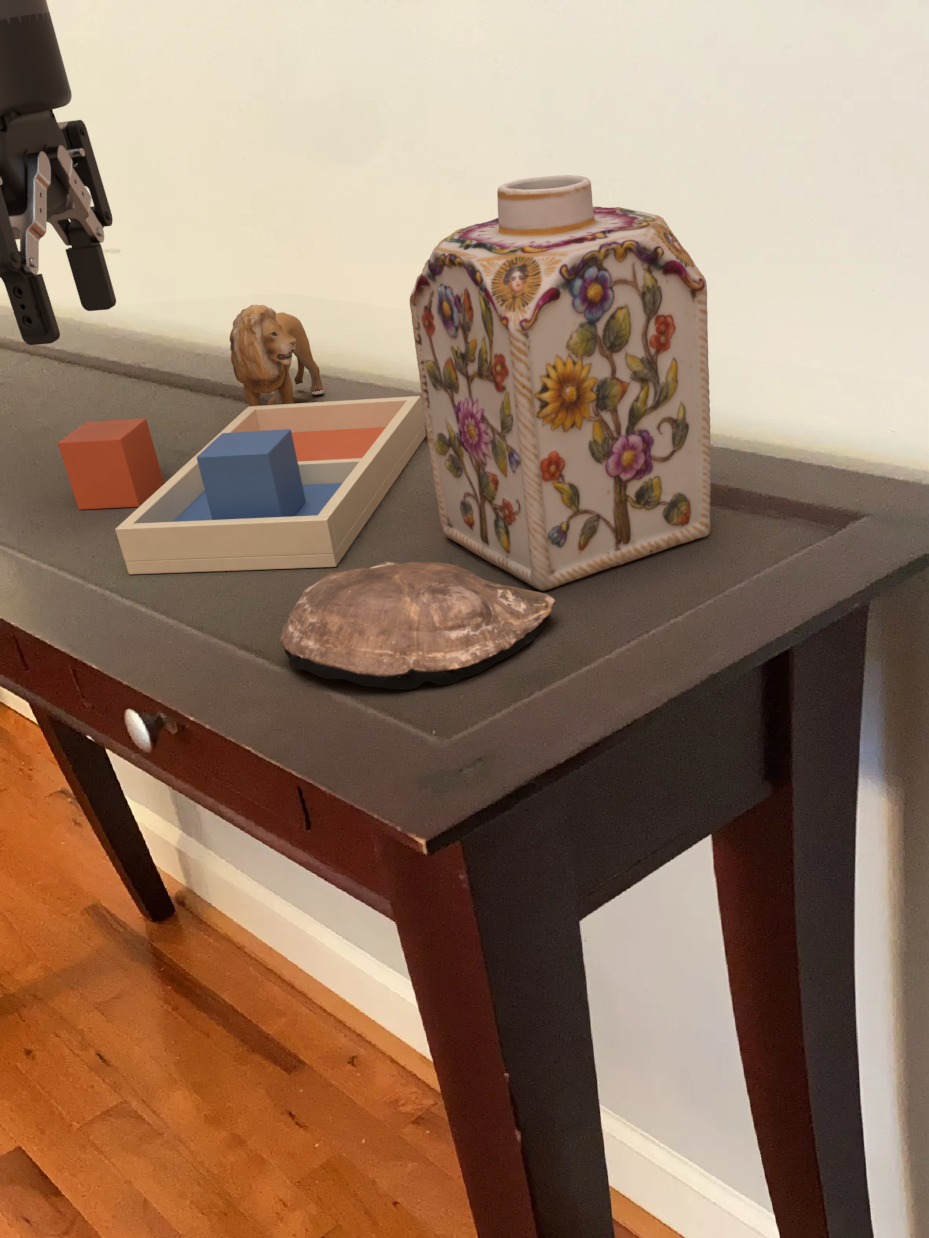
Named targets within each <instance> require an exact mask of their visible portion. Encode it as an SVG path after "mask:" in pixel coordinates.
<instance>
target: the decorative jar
mask: <svg viewBox="0 0 929 1238" xmlns="http://www.w3.org/2000/svg"><path fill="white" fill-rule="evenodd" d="M707 285H708V284H707V280H706V277H705V276H704V274H703V273H702V272H701V271H700V269H699V267H698V266H697V265H696V263H695V262H694V260H693V259H692V257H691V255H690V254H689V252H688V251H687V250H686V249H685V248H684V247H683V245H682V244H681V243H680V241H679V240H678V238H677V236H676V235H675V234H674V232H673V231H672V229H671V228H670V226H669V225H668V223H667V221H666V220H665V219H664V217H662V216H660V215H658V214H653V213H649V212H644V211H640V210H639V211H638V210H633V209H630V208H625V207H621V206H616V207H613V206H612V207H604V206H603V207H602V206H596V205H595V206H594V205H593V191H592V181H591V180H590V178H588V177H586V176H583V175H575V174H572V175H570V174H560V175H548V176H537V177H536V176H535V177H534V176H533V177H528V178H527V177H526V178H520V179H516V180H512V181H508V182H505V183H503V184H501V185H500V186H498V187H497V218H493V219H491V220H488V221H484V222H481V223H475V224H473V225H467V226H465V227H461V228H458V229H457V230H455V231H453V233H451V234H450V235H448V236H446V237H444V238H443V239H441V240H440V241H439V242H438V244H437V245H436V246H435V247H434V248H433V250H432V252H431V254H430V256H429V258H428V259H427V260H426V261H425V263H424V266H423V268H422V271H421V273H420V274H419V275H418V276H417V277H416V281H415V284H414V287H413V289H412V291H411V293H410V296H409V309H410V314H411V324H412V330H413V332H412V333H413V339H414V348H415V354H416V361H417V369H418V376H419V385H420V392H421V399H422V407H423V417H424V424H425V431H426V439H427V445H428V451H429V458H430V465H431V469H432V478H433V483H434V490H435V492H434V493H435V495H436V501H437V509H438V514H439V521H440V525H441V529H442V533H443V535H444V536H445V537H446V538H447V539H450V540H451V541H453V542H454V543H456V544H458V545H460V546H461V547H462V548H465V550H468V551H469V552H471V553H473V554H475V555H477V556H478V557H479V558H481V559H483V560H485V561H486V562H488V563H490V564H491V565H494V566H495V567H497V568H499V569H500V570H503V571H505V572H507V573H508V574H510V575H512V576H514V577H515V578H517V579H519V580H521V582H524V583H526V584H527V585H529V586H531V587H533V588H534V589H536V590H538V591H540V592H541V591H542V592H545V591H549V590H552V589H554V588H557V587H560V586H562V585H566V584H568V583H571V582H574V581H578V580H580V579H583V578H586V577H588V576H591V575H594V574H596V573H598V572H602V571H606V570H609V569H611V568H615V567H618V566H621V565H622V566H623V565H624V564H627V563H630V562H634V561H636V560H639V559H642V558H645V557H647V556H650V555H653V554H657V553H659V552H662V551H665V550H668V549H671V548H672V547H676V546H679V545H683V544H687V543H690V542H693V541H695V540H698V539H702V538H706V537H707V536H709V534H710V532H711V493H712V492H711V491H712V488H711V487H712V485H711V480H712V479H711V474H712V473H711V472H712V470H711V465H712V463H711V457H712V456H711V428H712V427H711V407H710V406H711V405H710V404H711V401H710V400H711V399H710V394H711V393H710V369H709V333H708V332H709V331H708V322H709V321H708V286H707Z"/></svg>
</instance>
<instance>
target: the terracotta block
mask: <svg viewBox="0 0 929 1238" xmlns="http://www.w3.org/2000/svg"><path fill="white" fill-rule="evenodd" d="M57 446H58V448H59V452H60V455H61V458H62V461H63V466H64V468H65V471H66V474H67V477H68V480H69V484H70V486H71V490H72V493H73V496H74V500H75V503H76V506H77V509H78V510H80V511H81V510H103V509H120V508H121V509H122V508H123V509H124V508H125V509H126V508H139V507H140V506H141V505H142V504H143V503H144V502H145V501H146V500H147V499H148V498H150V497H151V496H152V495H153V494H154V493H155V492H156V491H157V490H158V489H159V488H160V487H161V486H163V485H164V484H165V482H164V479H163V475H162V471H161V467H160V464H159V460H158V455H157V452H156V449H155V445H154V442H153V438H152V434H151V430H150V426H149V424H148V419H147V418H128V419H112V420H111V419H110V420H95V421H85V422H84V423H83V424H81V425H80V426H79V427H77V428H76V429H74V430H73V431H71V432H70V433H69V434H68V435H66V436H65V437H63V438H61V440H60V441H58V442H57Z"/></svg>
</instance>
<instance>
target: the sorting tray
mask: <svg viewBox="0 0 929 1238" xmlns="http://www.w3.org/2000/svg"><path fill="white" fill-rule="evenodd" d="M284 429H291V432H292V437H293V442H294V447H295V452H296V457H297V461H298V466H299V471H300V476H301V481H302V486H303V490H304V495H305V500H306V502H305V503H304V505H303V506H302V507H301V508H300V510H299V511H298V512H297V513H296V515H295V516H293V517H270V518H248V519H225V520H212V516H211V512H210V508H209V504H208V501H207V497H206V493H205V489H204V485H203V481H202V477H201V473H200V469H199V465H198V461H197V456H198V455H199V454H200V453H201V452H202V451H204V450H205V449H206V448H207V447H208V446H209V445H210V444H211V443H212V442H213V441H214V440H215V439H217V438H218V437H219V436H220V435H221V434H222V433H233V432H250V431H267V430H284ZM425 438H427V431H426V424H425V417H424V410H423V403H422V396H420V395H412V396H395V397H381V398H364V399H348V400H347V399H346V400H332V401H316V402H314V401H313V402H301V403H294V404H281V405H268V404H267V405H262V406H249V405H248V406H247V407H246V408H245V409H244V410H243V411H241V413H240V414H239V415H237V416H236V417H235V418H234V419H233V420H232V421H231V422H230V423H228V424H227V426H226V427H224V428H223V429H222V430H221V431H220V432H219V433H218V434H217V435H216V436H214V438H212V439H211V440H210V441H209V442H208V443H207V444H206V445H205V446H204V447H203V448H201V450H199V452H197V453H196V454H195V455H194V456H193V457H192V458H191V459H190V460H188V461H187V463H185V464H184V465H183V466H182V467H181V468H180V469H178V471H176V473H174V474H173V475H172V476H171V477H170V478H169V479H168V480H167V481H165V482H164V485H162V486H161V487H160V488H159V489H158V490H157V491H156V492H155V493H154V494H153V495H152V496H151V497H149V498H148V499H147V500H146V501H145V502H144V503H143V504H142V505H141V506H140V507H137V508H136V509H135V510H134V511H133V512H132V513H131V514H129V515H128V516H127V518H126V519H124V520H123V521H122V522H121V523H119V525H118V526H117V527H115V533H116V536H117V540H118V543H119V547H120V551H121V553H122V557H123V559H124V562H125V566H126V570H127V573H128V575H151V574H178V573H179V574H181V573H207V572H230V571H231V572H233V571H235V572H236V571H257V570H258V571H260V570H261V571H262V570H264V571H265V570H289V569H315V568H317V569H318V568H336V567H338V565H339V563H340V562H341V560H342V559H343V558H344V556H345V555H346V553H347V552H348V551H349V549H350V547H351V546H352V544H353V543H354V542H355V540H356V539H357V537H358V536H359V534H360V533H361V531H362V530H363V529H364V527H365V525H366V524H367V522H368V521H369V520H370V518H372V516H373V514H374V513H375V512H376V509H377V508H378V507H379V505H380V504H381V502H382V501H383V499H384V498H385V497H386V495H387V493H388V492H389V491H390V489H391V488H392V486H393V485H394V483H395V482H396V480H397V479H398V477H399V476H400V475H401V473H402V471H403V470H404V469H405V467H406V466H407V465H408V463H409V461H410V460H411V459H412V457H413V456H414V454H416V453H415V452H416V451H417V450H418V449H419V447H420V446H421V444H422V443H423V441H424V440H425Z"/></svg>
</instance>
